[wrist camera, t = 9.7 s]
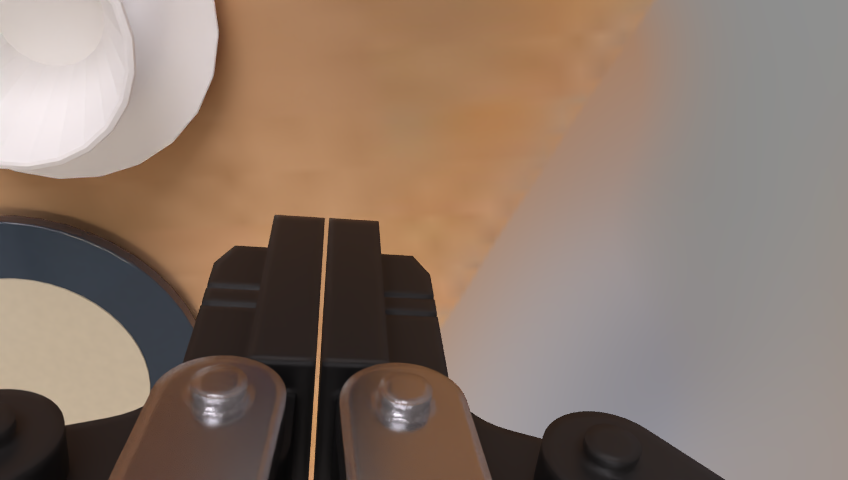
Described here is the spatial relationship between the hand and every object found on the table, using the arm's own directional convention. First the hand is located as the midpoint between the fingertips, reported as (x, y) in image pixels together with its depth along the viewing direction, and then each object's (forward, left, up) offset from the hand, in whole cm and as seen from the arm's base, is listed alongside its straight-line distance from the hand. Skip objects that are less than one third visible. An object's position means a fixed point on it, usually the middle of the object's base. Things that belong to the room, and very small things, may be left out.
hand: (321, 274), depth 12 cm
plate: (-12, -16, -20) cm, 28 cm away
